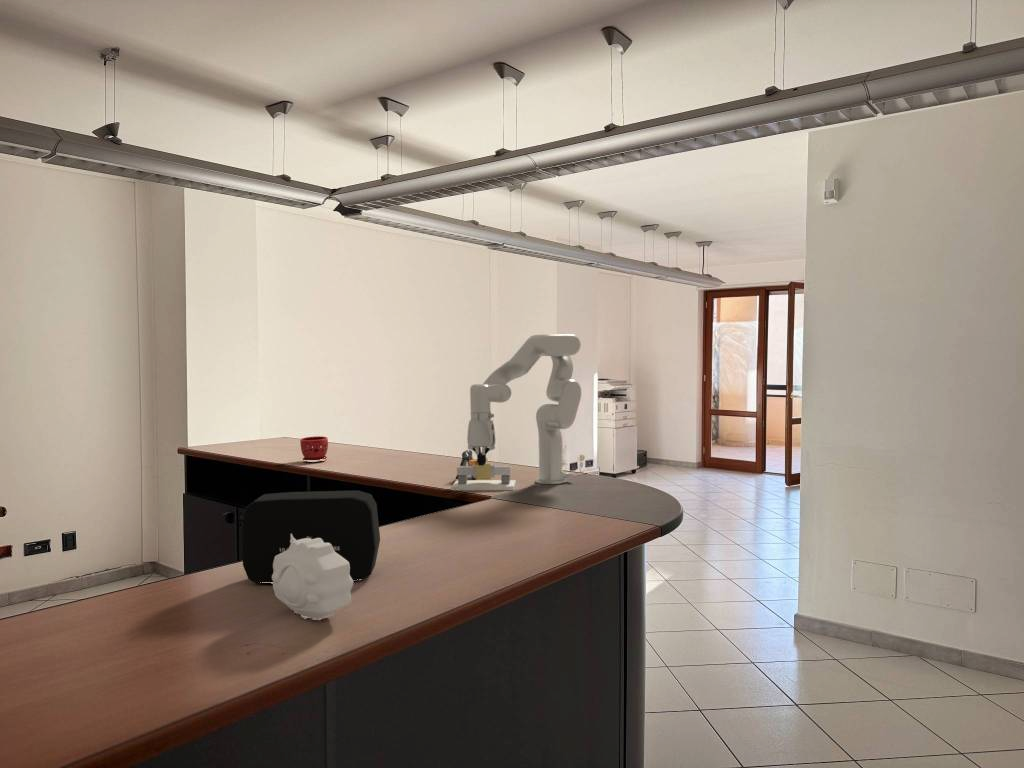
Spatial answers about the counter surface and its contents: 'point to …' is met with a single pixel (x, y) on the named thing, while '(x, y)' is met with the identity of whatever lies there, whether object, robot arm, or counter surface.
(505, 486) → the board
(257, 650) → the counter surface
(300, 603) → the white lumpy lump
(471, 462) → the valve lever
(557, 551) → the counter surface
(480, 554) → the counter surface
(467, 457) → the dark grey tall piece
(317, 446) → the plant pot
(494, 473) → the valve pipe
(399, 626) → the counter surface
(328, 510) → the black hard case
